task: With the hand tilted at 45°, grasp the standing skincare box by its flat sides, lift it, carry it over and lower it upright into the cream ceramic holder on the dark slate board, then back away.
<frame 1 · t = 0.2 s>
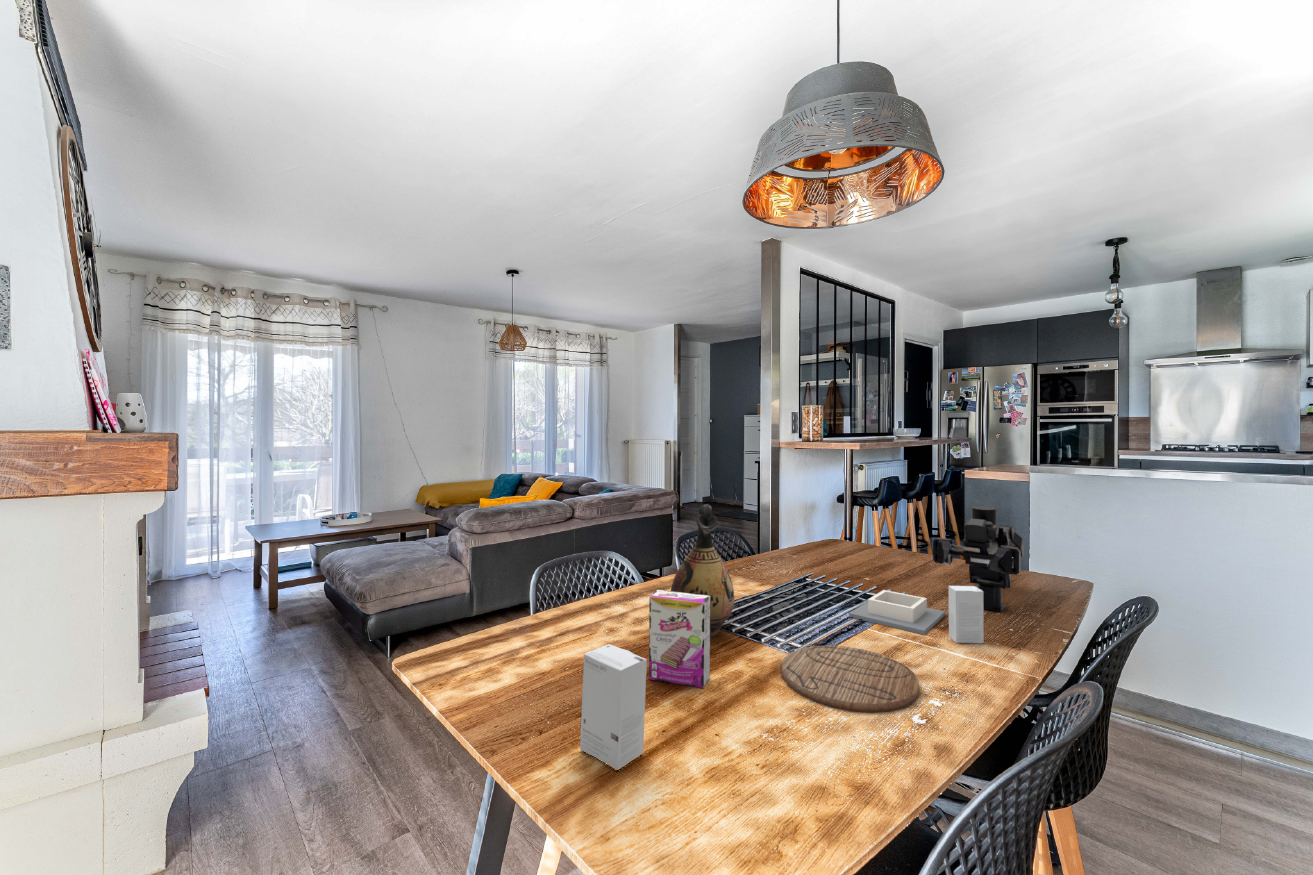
hand: (966, 563, 128), 17 cm above the table, tool horizontal, fingers open, 9 cm apart
skincare box 2: (613, 754, 81), on the table
ceramic jug: (701, 629, 132), on the table
slate board: (897, 616, 140), on the table
holder: (897, 605, 140), on the slate board, point 3 cm above the table
candy bar box: (679, 680, 105), on the table
trivet: (847, 681, 105), on the table
skincare box: (965, 640, 125), on the table
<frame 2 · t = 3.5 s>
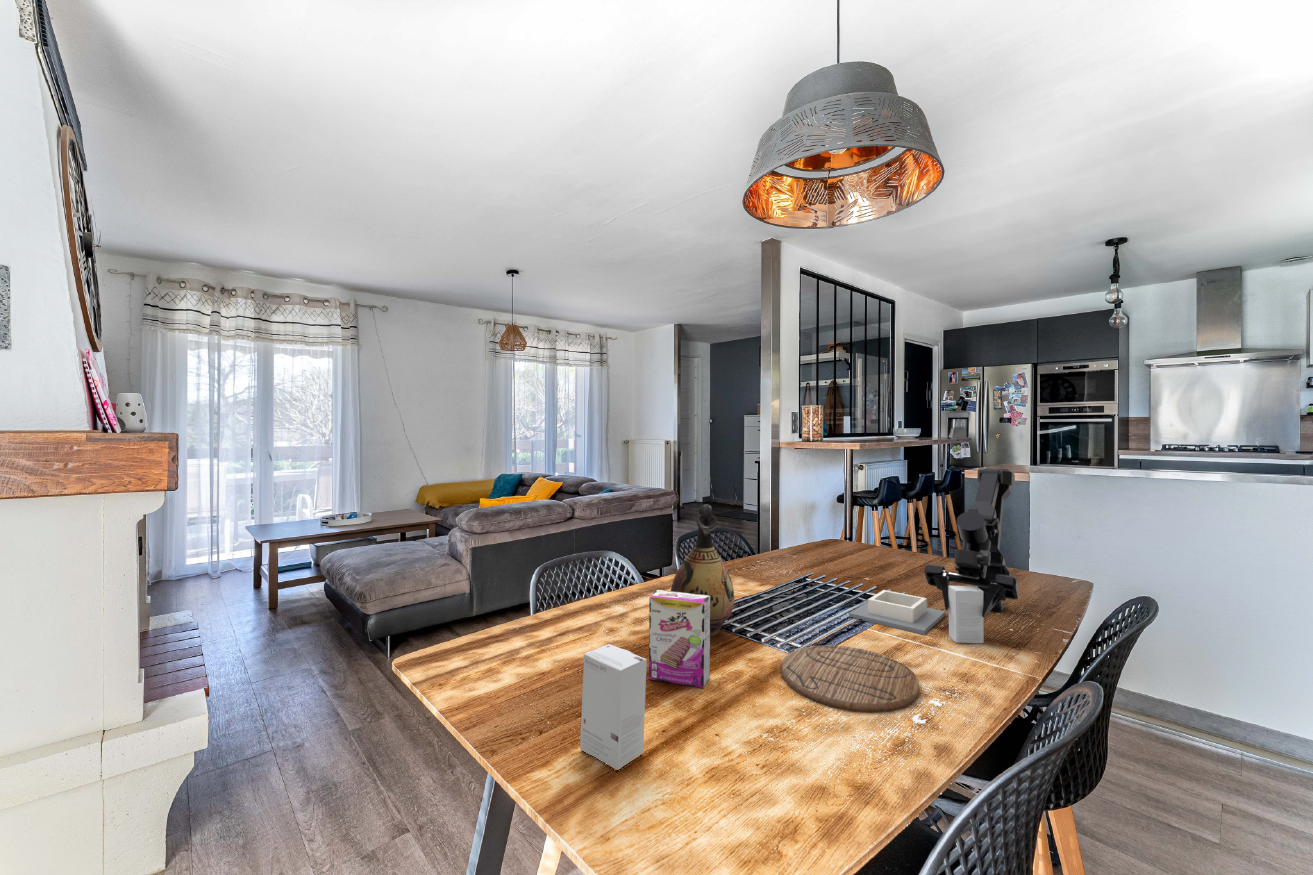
hand: (964, 612, 123), 7 cm above the table, tool tilted 45°, fingers closed on skincare box, 7 cm apart
skincare box: (965, 640, 125), on the table, touching gripper
everything else where it was.
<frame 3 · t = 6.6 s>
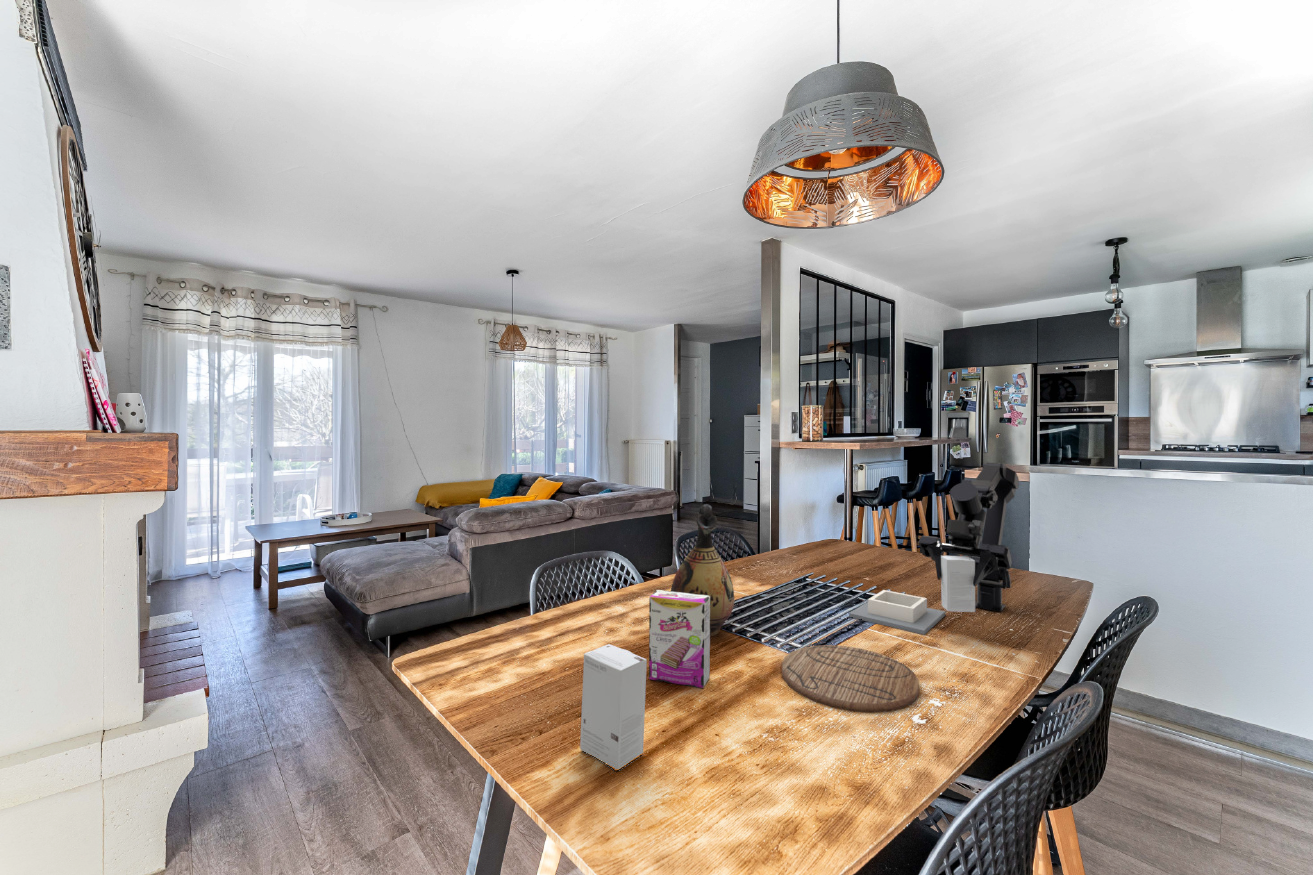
hand: (956, 581, 125), 13 cm above the table, tool tilted 45°, fingers closed on skincare box, 7 cm apart
skincare box: (957, 609, 126), point 6 cm above the table, touching gripper
everything else where it was.
when the fingers open (9 cm above the table, at t = 9.6 s): skincare box drops 1 cm, resting on slate board.
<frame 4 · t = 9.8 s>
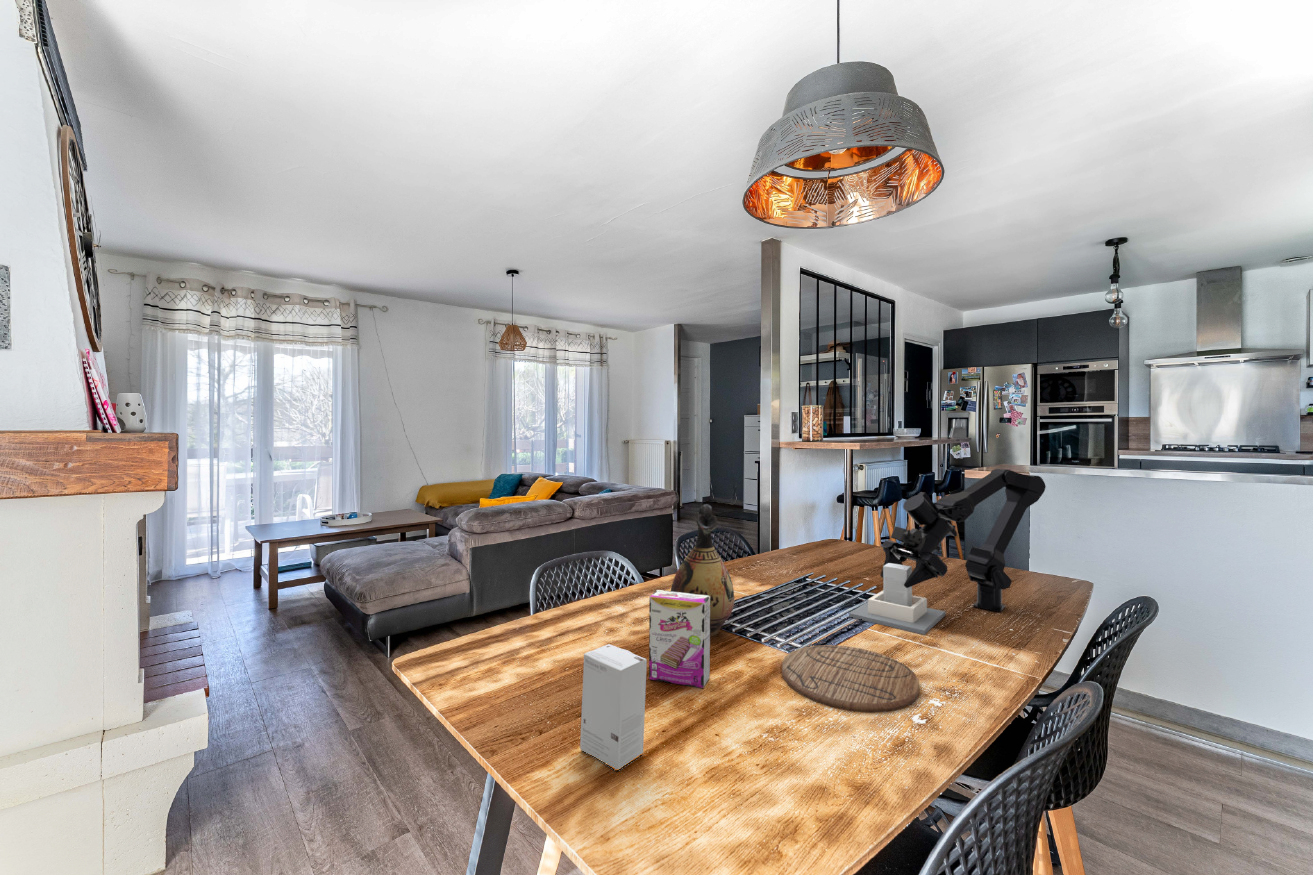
hand: (893, 581, 140), 9 cm above the table, tool tilted 45°, fingers open, 9 cm apart
skincare box: (897, 612, 141), point 1 cm above the table, touching slate board
everything else where it was.
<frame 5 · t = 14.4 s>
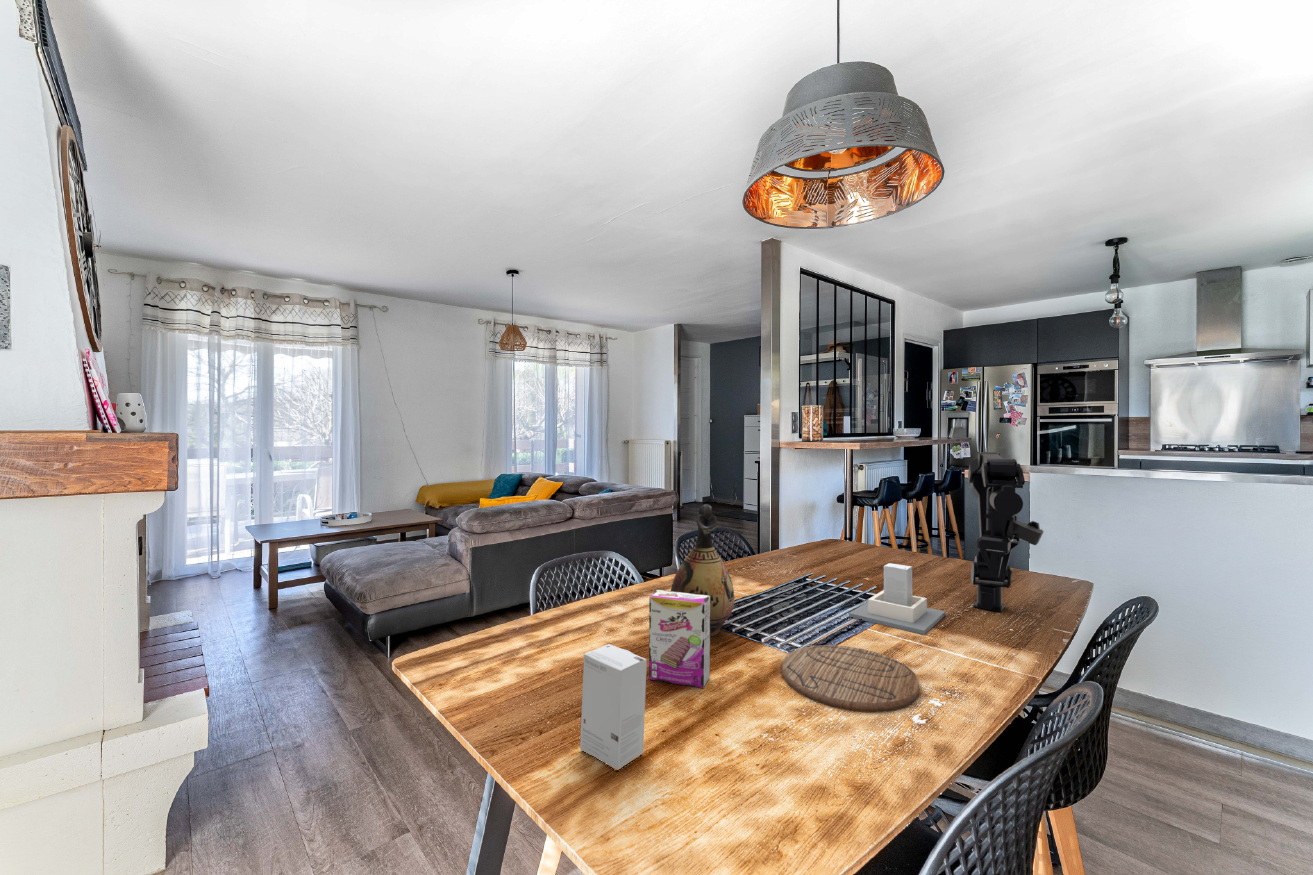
hand: (999, 573, 133), 13 cm above the table, tool pointing down, fingers open, 9 cm apart
nothing on the table moved.
at the end: skincare box 0.2 cm off-centre on the holder, point 0.8 cm above the holder's base; skincare box tilted 0°; the gripper is holding nothing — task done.
